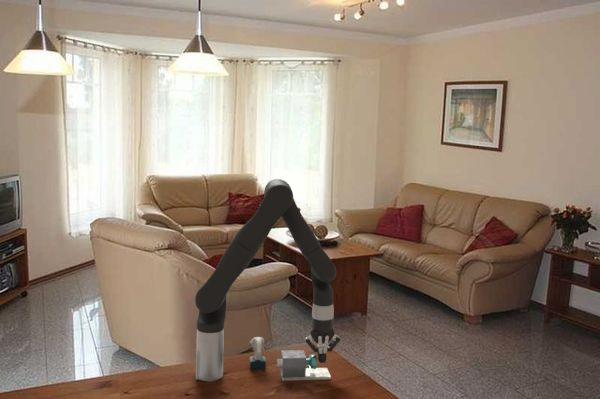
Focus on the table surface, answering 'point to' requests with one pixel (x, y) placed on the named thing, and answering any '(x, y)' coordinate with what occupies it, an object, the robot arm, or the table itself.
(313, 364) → the shaft
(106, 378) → the table surface
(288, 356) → the shaft housing
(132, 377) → the table surface
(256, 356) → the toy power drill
